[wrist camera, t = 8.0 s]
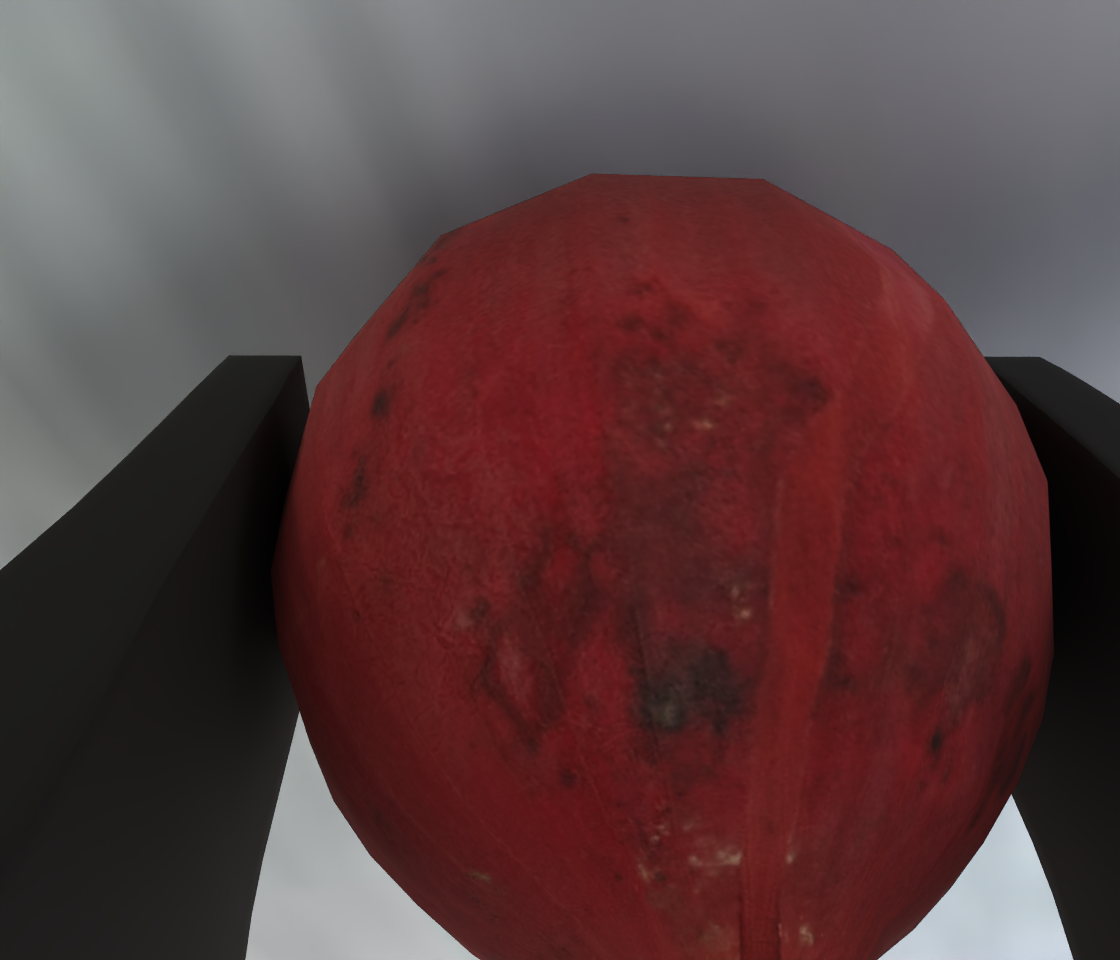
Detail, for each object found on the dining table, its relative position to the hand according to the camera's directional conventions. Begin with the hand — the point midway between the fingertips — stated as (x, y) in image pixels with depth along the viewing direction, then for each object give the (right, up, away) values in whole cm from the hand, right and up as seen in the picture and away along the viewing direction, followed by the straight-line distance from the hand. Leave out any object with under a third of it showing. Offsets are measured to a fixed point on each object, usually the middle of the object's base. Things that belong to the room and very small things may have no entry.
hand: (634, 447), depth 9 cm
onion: (0, +2, +2) cm, 2 cm away
